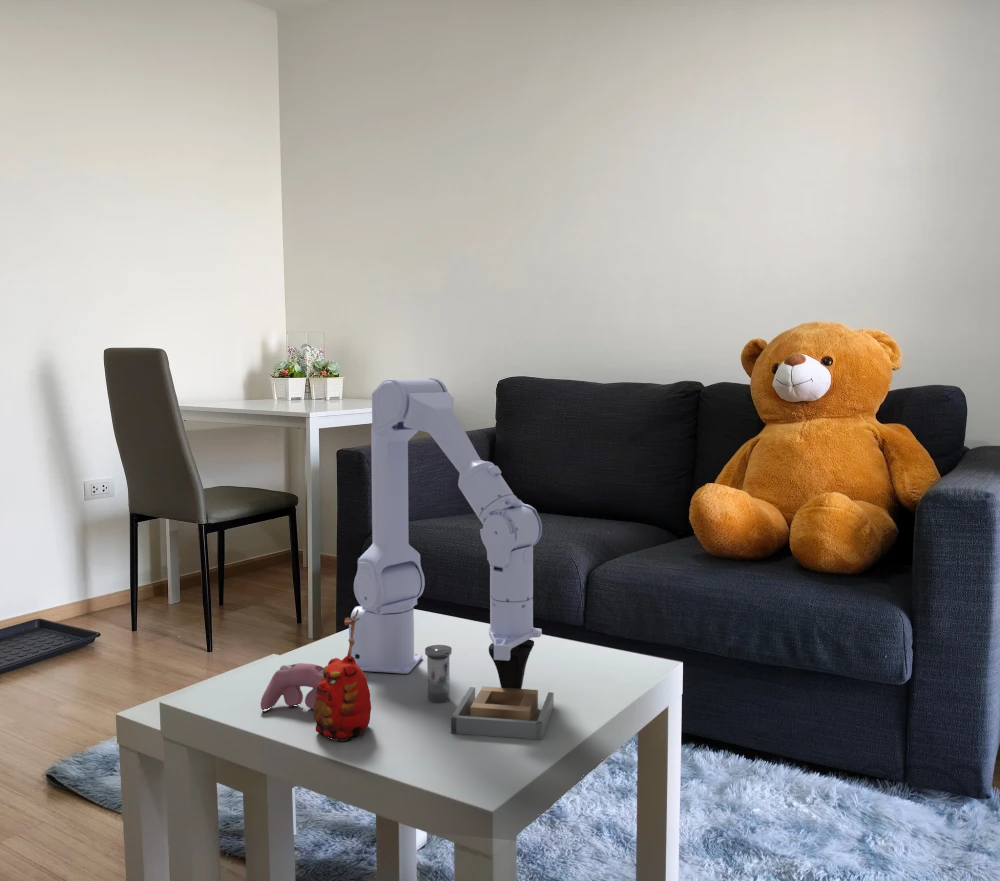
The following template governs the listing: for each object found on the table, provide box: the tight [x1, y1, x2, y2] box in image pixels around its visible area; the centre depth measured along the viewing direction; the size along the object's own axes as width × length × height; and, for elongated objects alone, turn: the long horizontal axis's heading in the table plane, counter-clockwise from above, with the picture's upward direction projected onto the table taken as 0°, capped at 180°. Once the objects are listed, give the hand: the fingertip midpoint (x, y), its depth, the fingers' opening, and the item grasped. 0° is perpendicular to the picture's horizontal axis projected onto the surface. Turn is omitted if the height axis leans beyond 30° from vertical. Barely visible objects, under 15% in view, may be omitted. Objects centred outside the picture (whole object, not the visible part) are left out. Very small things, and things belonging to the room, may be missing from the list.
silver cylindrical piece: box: [424, 644, 453, 704], centre depth 123 cm, size 4×4×7 cm
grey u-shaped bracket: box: [450, 686, 555, 741], centre depth 116 cm, size 11×11×2 cm
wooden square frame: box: [469, 686, 539, 721], centre depth 117 cm, size 8×8×2 cm
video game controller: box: [260, 662, 324, 711], centre depth 120 cm, size 10×5×7 cm, turn 73°
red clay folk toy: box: [313, 609, 372, 742], centre depth 112 cm, size 8×7×15 cm
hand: (511, 695), depth 121 cm, fingers closed
